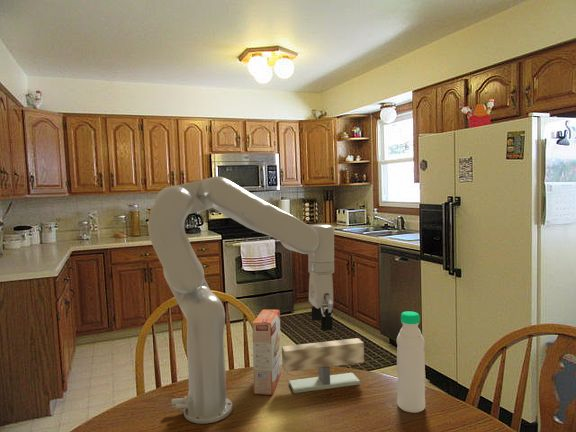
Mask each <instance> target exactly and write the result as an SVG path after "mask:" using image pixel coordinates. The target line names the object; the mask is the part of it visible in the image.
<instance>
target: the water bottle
mask: <svg viewBox="0 0 576 432" xmlns="http://www.w3.org/2000/svg"><path fill="white" fill-rule="evenodd" d="M420 320H421V316H420V314H419V313H418V312H415V311H403V312H401V314H400V323H401V324H402V327H401V328H400V330H399V332H398V335H397V337H396V345H397V348H396V374H397V375H396V376H397V381H396V386H397V388H396V389H397V395H396V397H397V398H396V399H397V400H396V401H397V406H398V408H399V409H401V410H402V411H404V412H407V413H410V414H411V413H413V414H416V413H417V414H418V413H420V412H421V413H422V411H424V410H425V408H426V395H425V393H426V384H425V377H426V376H425V374H426V358H425V357H426V355H425V343H426V341H425V338H424V336H423V334H422V331H421V329H420V328H419V324H420V322H421V321H420Z"/></svg>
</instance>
